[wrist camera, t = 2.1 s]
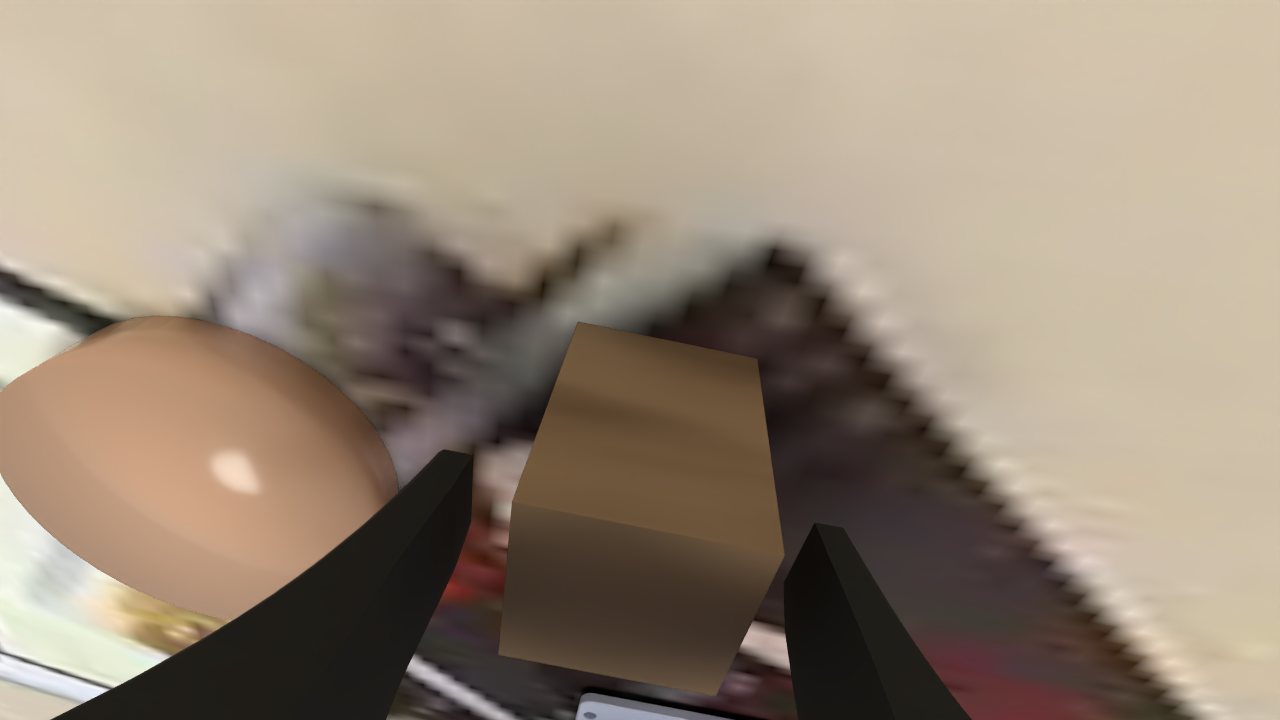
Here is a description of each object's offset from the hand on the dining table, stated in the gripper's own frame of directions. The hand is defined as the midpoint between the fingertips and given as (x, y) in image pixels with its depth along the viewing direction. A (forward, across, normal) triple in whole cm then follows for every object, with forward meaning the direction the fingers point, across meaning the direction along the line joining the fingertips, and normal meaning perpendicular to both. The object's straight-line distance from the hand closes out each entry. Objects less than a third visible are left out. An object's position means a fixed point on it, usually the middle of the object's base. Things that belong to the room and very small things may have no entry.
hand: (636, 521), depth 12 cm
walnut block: (+4, 0, 0) cm, 4 cm away
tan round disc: (+4, +12, +5) cm, 14 cm away
